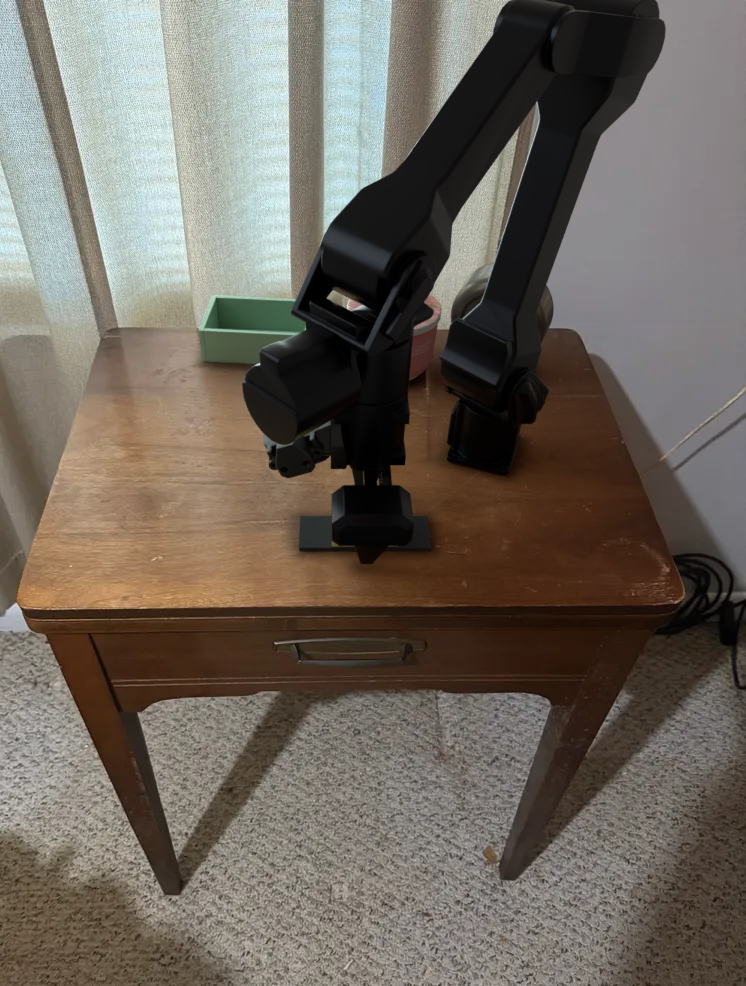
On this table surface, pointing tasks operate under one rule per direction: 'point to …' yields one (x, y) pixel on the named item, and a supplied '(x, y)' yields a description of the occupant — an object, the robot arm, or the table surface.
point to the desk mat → (319, 538)
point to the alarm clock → (475, 291)
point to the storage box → (245, 327)
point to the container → (419, 337)
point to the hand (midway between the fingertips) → (364, 528)
